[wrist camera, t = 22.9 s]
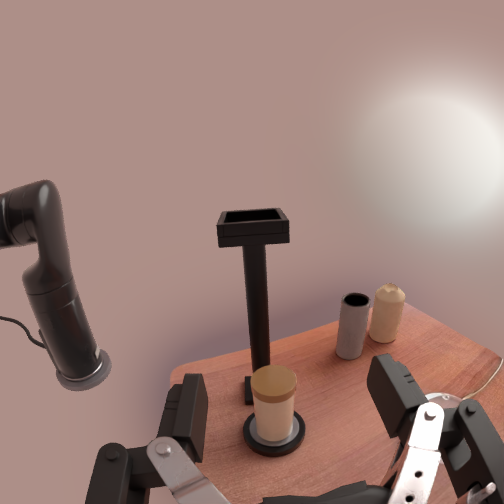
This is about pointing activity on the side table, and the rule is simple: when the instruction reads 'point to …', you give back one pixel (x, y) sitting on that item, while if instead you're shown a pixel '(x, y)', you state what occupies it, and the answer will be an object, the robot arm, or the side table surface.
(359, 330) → the planter
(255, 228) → the stand
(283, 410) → the spice jar
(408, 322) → the side table surface
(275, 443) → the plate
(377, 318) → the candle
